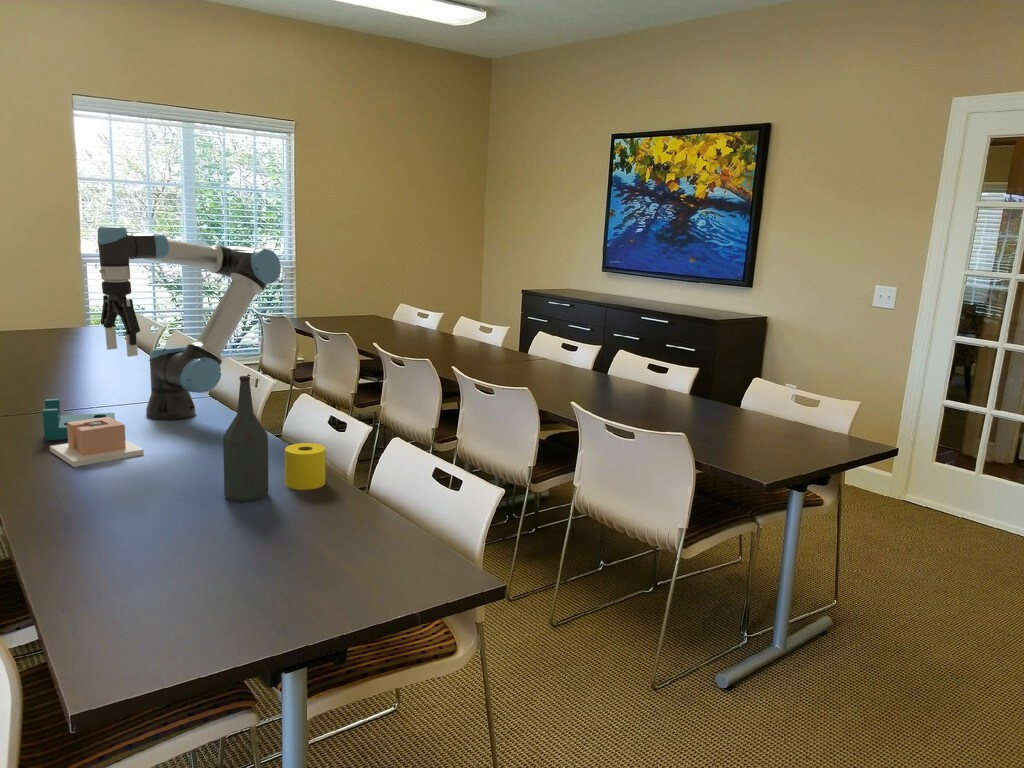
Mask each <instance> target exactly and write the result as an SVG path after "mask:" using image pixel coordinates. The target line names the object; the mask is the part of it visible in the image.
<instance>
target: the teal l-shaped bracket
mask: <svg viewBox="0 0 1024 768" xmlns="http://www.w3.org/2000/svg"><path fill="white" fill-rule="evenodd" d="M44 406H45V407H44V408H43V409H42V418H43V419H42V420H43V421H42V422H43V430H44V432H43V434H44V441H55V440H56V441H58V440H68V432H67V422H73V421H81V420H88V419H95V418H102V417H111V418H112V419H114V420H116V419H115V418H116V416H115V412H102V413H85V414H84V413H83V414H68V415H67V414H65V415H61V403H60V398H45V400H44Z"/></svg>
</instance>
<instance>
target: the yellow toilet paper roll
mask: <svg viewBox="0 0 1024 768" xmlns="http://www.w3.org/2000/svg"><path fill="white" fill-rule="evenodd" d="M284 453H285V454H284V455H285V456H284V457H285V458H284V460H285V461H284V464H285V465H284V467H285V469H284V471H285V473H284V475H285V478H284V482H285V483H284V484H285V486H286V487H287V488H289V489H293V490H297V491H305V490H306V491H309V490H315V489H318V488H321V487H323V486H324V485H325V484H326V446H324V445H322V444H319V443H314V442H300V443H294V444H290V445H288V446H286V447H285V449H284Z"/></svg>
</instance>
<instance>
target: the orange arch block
mask: <svg viewBox="0 0 1024 768" xmlns="http://www.w3.org/2000/svg"><path fill="white" fill-rule="evenodd" d="M92 422H101V423H102V425H98V426H92V427H89V423H92ZM67 432H68V439H67V443H68V447H70V448H71V449H73V450H77V449H78V453H79V454H81V455H83V456H86V455H92V454H98V453H104V452H110V451H116V450H121V449H126V444H125V440H126V425H125V424H124V423H123V422H120V421H119V420H117V419H115V420H114V419H112V418H111V417H102V418H95V419H88V420H81V421H73V422H67Z"/></svg>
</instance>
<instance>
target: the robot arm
mask: <svg viewBox="0 0 1024 768" xmlns="http://www.w3.org/2000/svg"><path fill="white" fill-rule="evenodd" d="M96 243H97V246H98V256H99V265H100V267H99V268H100V269H99V271H98V272H99V274H100V277H101V280H102V282H101V290H102V294H103V296H102V299H103V300H102V302H103V303H102V310H101V315H100V316H101V318H100V324H101V325H103V328H104V333H105V342H106V345H105V346H106V350H108V351H109V350H117V349H118V344H117V343H118V341H117V340H118V339H117V332H116V331H117V329H116V327H117V326H116V320H117V317H118V316H119V317H120V319H121V322H122V324H123V327H124V330H125V332H124V335H125V343H126V345H125V346H126V355H127V357H137V356H139V353H138V340H137V339H138V338H137V334H138V333H140V332H141V328H140V325H139V321H138V318H137V315H136V312H135V308H134V303H133V299H131V298H129V299H128V298H127V295H130V294H132V284H131V281H129V280H130V279H131V267H130V260H147V261H148V260H149V261H156V262H162V263H168V264H173V265H174V264H175V265H180V266H186V267H187V266H188V267H194V268H199V269H205V270H207V271H208V272H210V273H212V274H217V275H222V276H225V277H229V278H230V279H231V282H230V284H229V286H228V288H227V289H226V291H225V292H224V294H223V295H222V297H221V299H220V301H219V302H218V304H217V306H216V307H215V309H214V311H213V313H212V314H211V316H210V317H209V320H208V321H207V322H206V324H205V326H204V327H203V329H202V331H201V332H200V334H199V336H198V338H197V340H196V341H195V342H191V343H188V344H187V346H180V345H179V346H165V347H157V348H153V349H151V350H150V352H149V359H148V361H149V369H150V371H149V372H150V373H149V374H150V392H151V393H150V396H149V399H148V402H147V405H146V409H145V412H146V413H145V414H146V417H147V418H148V419H152V420H158V421H159V420H161V421H171V420H172V421H173V420H175V421H176V420H182V419H188V418H191V417H194V416H195V415H196V405H195V403H194V400H193V398H192V395H191V393H198V394H204V393H207V392H209V391H211V390H213V389H214V388H216V386H217V385H218V384H219V383H220V380H221V377H222V372H221V370H222V369H221V364H222V362H223V359H222V353H223V352H224V350H225V348H226V346H227V345H228V343H229V341H230V340H231V339H232V336H233V334H234V333H235V331H236V330H237V327H238V326H239V324H240V322H241V320H242V319H243V317H244V315H245V313H246V312H247V310H248V308H249V307H250V305H251V303H252V302H253V299H254V298H255V296H256V295H259V294H262V293H263V292H264V290H265V289H266V287H267V285H270V284H275V282H276V281H278V279H279V277H280V276H281V271H282V270H281V269H282V265H281V263H280V262H281V261H280V258H279V256H278V255H277V254H276V253H275V252H274V251H273V250H271V249H268V248H264V247H261V246H260V247H254V246H253V247H252V246H245V245H220V244H219V245H218V244H212V245H211V246H208V245H203V244H202V245H201V244H197V243H192V242H188V241H187V242H185V241H180V240H175V239H169V238H167V237H166V235H164V234H163V233H161V232H137V231H128V230H127V228H126V227H125V226H109V225H107V226H106V225H104V226H99V227H98V229H97V242H96Z"/></svg>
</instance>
